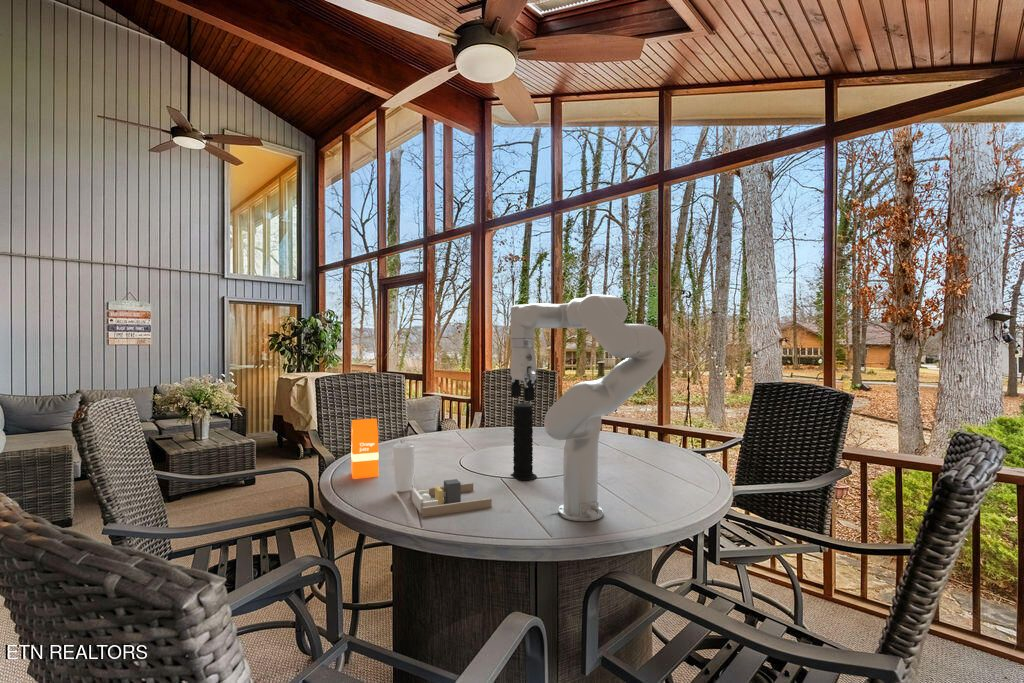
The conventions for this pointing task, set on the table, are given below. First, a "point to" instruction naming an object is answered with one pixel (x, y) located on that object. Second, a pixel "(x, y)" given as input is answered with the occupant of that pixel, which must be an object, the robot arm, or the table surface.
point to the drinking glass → (403, 466)
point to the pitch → (454, 506)
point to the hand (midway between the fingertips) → (522, 398)
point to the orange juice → (364, 448)
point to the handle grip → (523, 442)
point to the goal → (421, 499)
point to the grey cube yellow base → (449, 492)
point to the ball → (426, 497)
